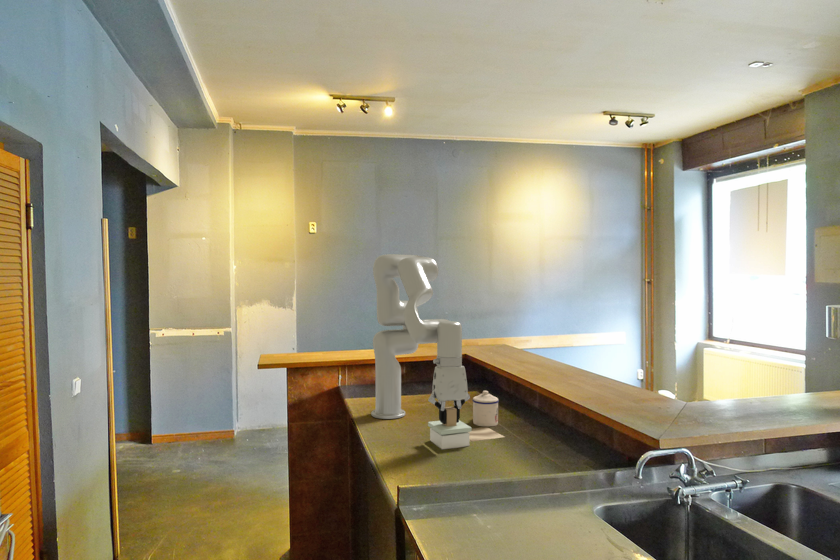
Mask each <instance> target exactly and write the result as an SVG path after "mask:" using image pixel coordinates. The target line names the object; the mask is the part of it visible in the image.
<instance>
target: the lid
mask: <svg viewBox="0 0 840 560" xmlns="http://www.w3.org/2000/svg"><path fill="white" fill-rule="evenodd" d="M445 411H446V424H443V423H441V422H440V420H434V421H433V420H432V421H428V422H427V426H428V427H429V429H430V428H432V429H433V430H435V431H436V432H438V433H439V434H441V435H445V434H454V433H463V432H471V431H472V429H473V428H472V427H471V426H470V425H468V424H467V423H465V422H464V421H461V420H460V419H459V422H458V423H457V422H456V420H457V409H456V408H454V406H445Z"/></svg>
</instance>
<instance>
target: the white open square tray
mask: <svg viewBox="0 0 840 560" xmlns="http://www.w3.org/2000/svg"><path fill="white" fill-rule="evenodd" d="M429 439H430V440H429V441H430V442H431V443H432V444H434V446H436V447H438V448H439V449H440V450H448V449H451V450H452V449H457V448H458V449H459V448H465V447H470V440H469V432H463V433H454V434H445V435H441V434H439V433H438V432H436V431H435V430H433V429H432V428H430V427H429Z"/></svg>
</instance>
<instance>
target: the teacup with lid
mask: <svg viewBox="0 0 840 560" xmlns="http://www.w3.org/2000/svg"><path fill="white" fill-rule="evenodd" d="M472 419H473V420H472V422H473V423H472V424H474V425H475V426H479V427H494V426H497V425H499V397H498V396H497V397H496V396H494V395H492V394H491V393H489V391H488V390H483V391H482V393H479V395H476V396H474V397H472Z"/></svg>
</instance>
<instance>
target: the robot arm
mask: <svg viewBox="0 0 840 560" xmlns="http://www.w3.org/2000/svg"><path fill="white" fill-rule="evenodd" d="M372 274H373V278H374V279H373V280H374V284H375V287H376V319H377V322H378V324H379V325H380V326H381V327H382V326H383V327H399V326H401V327H402V329H401V328H400V329H386V330H385V329H384V330H380V331H378V332H376V333H375V334H374V336H373V338H372V346H373V348H372V349H373V353H374V360H375V361H374V363H375V365H374V366H375V409H373V410H372V411H371V413H370V414H371V416H372V417H373V418H376V419H380V420H382V419H383V420H394V419H400V418H403V417H404V416H406V411H405V409H402V367H401V364H400V363H399V361H398V360H397V358H396V356H401V355H412V354H414V353H415V352H417V350H418V348H419V345H424V344H436V345H437V346H436V348H437V349H436V358H433V361H432V362H433V364H436V366H435V367H434V371H433V378H432V379H433V380H432V392H431V393H430V395H429V398H428V399H427V400H428V402H429V403H431V404H433V405H434V406H435V407H436V408H437V409H438V419H439V420H438V421H440V422H441V423H443V424H446V411H445V407H446V402H450V401H452V402H453V407H454V408H456V409H457V420H456V422H457V423H458V422H459V420H460V418H461V416H460V415H461V409H462V407H463V406H464V404H465V403H466V402H467V401H469V400H470V399H471V396H470V394H469V393H468V380H467V372H466V368H465V366H464V365H463V363H462V362H463V350H462V349H463V344H462V343H463V331H462V330H463V328H462V324H461V323H460V322H459V321H452V320H449V319H446V318H433V319H431V318H430V319H429V318H428V319H421V318H420V315H419V310H418V307H420V306H422V305H424V304H425V303H427V302H428V301H430V299H432V297H433V295H434V290H433V288H432V286H431V283H430V282H433V281H435V280H436V279H437V278H438V276H439V267H438V264H437V262H436V260H435V259H433V258H432V257H428V256H422V255H417V254H397V253H395V254H393V253H390V254H388V253H386V254H381V255H379V256H377V257H376V259H375V260H374V262H373V266H372ZM394 278H399V279H400V280H401V283H402V286H403V288H404V290H405V293H406V296H407V297H408V300H401V299H400V286H399V285H398V283H397V282H396V280H395V279H394Z"/></svg>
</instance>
